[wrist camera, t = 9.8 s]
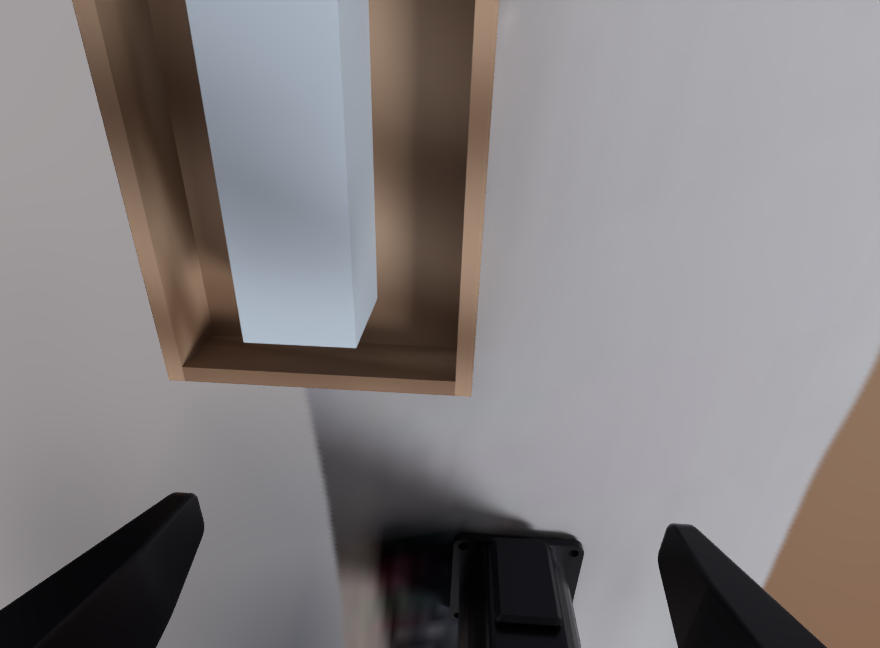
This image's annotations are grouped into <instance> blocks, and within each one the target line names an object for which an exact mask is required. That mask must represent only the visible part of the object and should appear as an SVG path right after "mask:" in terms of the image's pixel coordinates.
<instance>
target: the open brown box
mask: <svg viewBox="0 0 880 648" xmlns="http://www.w3.org/2000/svg"><path fill="white" fill-rule="evenodd" d="M72 2H73V6H74V10H75V14H76V17H77V21H78V25H79V29H80V33H81V37H82V41H83V45H84V49H85V53H86V57H87V60H88V64H89V68H90V72H91V76H92V80H93V84H94V87H95V92H96V96H97V99H98V103H99V107H100V111H101V115H102V119H103V123H104V127H105V131H106V135H107V139H108V142H109V146H110V150H111V154H112V158H113V162H114V166H115V170H116V174H117V177H118V182H119V186H120V189H121V193H122V197H123V201H124V205H125V209H126V213H127V217H128V221H129V225H130V228H131V232H132V236H133V240H134V244H135V248H136V252H137V255H138V259H139V264H140V268H141V271H142V275H143V279H144V283H145V287H146V291H147V295H148V299H149V303H150V307H151V311H152V314H153V318H154V322H155V326H156V330H157V334H158V338H159V342H160V346H161V350H162V353H163V357H164V361H165V365H166V369H167V373H168V377H169V380H178V381H197V382H214V383H233V384H251V385H269V386H288V387H306V388H324V389H342V390H360V391H379V392H397V393H415V394H433V395H452V396H470V397H471V393H472V378H473V364H474V350H475V336H476V322H477V307H478V293H479V279H480V265H481V251H482V237H483V222H484V208H485V194H486V180H487V166H488V151H489V137H490V123H491V109H492V95H493V81H494V66H495V52H496V38H497V24H498V10H499V0H369V32H370V65H371V99H372V132H373V166H374V200H375V233H376V267H377V300H376V303H375V305H374V308H373V310H372V312H371V315H370V317H369V319H368V322H367V324H366V326H365V329H364V331H363V333H362V336H361V338H360V341H359V343H358V345H357V348H342V347H322V346H303V345H283V344H264V343H244V342H243V336H242V330H241V325H240V319H239V313H238V307H237V301H236V295H235V289H234V283H233V277H232V272H231V266H230V260H229V254H228V248H227V242H226V236H225V230H224V224H223V219H222V213H221V207H220V201H219V195H218V189H217V183H216V177H215V171H214V166H213V160H212V154H211V148H210V142H209V136H208V130H207V124H206V118H205V113H204V107H203V101H202V95H201V89H200V83H199V77H198V71H197V65H196V60H195V54H194V48H193V42H192V36H191V30H190V24H189V18H188V12H187V6H186V1H185V0H72Z"/></svg>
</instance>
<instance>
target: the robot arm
mask: <svg viewBox="0 0 880 648" xmlns="http://www.w3.org/2000/svg"><path fill="white" fill-rule="evenodd" d="M203 532H204V521H203V517H202V513H201V509H200V505H199V501H198V498H197V496H196V495H195V494H192V493H179V492H176V493H172V494H170V495H168V496H167V497H165V498H164V499H163V500H161V501H160V502H158V503H157V504H155V505H154V506H152V507H151V508H149V509H148V510H146V511H145V512H143V513H142V514H141V515H139V516H138V517H136V518H135V519H133V520H132V521H130V522H129V523H128V524H126V525H124V526H123V527H122V528H120V529H119V530H117V531H116V532H114V533H113V534H111V535H110V536H108V537H107V538H105V539H104V540H103V541H101V542H100V543H98V544H97V545H95V546H94V547H92V548H91V549H89V550H88V551H86V552H85V553H83V554H82V555H81V556H79V557H78V558H76V559H75V560H73V561H72V562H70V563H69V564H67V565H66V566H64V567H63V568H61V569H60V570H59V571H57V572H56V573H54V574H53V575H51V576H50V577H49V578H47V579H45V580H44V581H42V582H41V583H39V584H38V585H37V586H35V587H34V588H32V589H31V590H29V591H28V592H26V593H25V594H23V595H22V596H20V597H19V598H18V599H16V600H15V601H13V602H12V603H10V604H9V605H7V606H6V607H4V608H3V609H1V610H0V648H156V646H157V644H158V642H159V640H160V638H161V636H162V634H163V632H164V630H165V628H166V626H167V624H168V622H169V620H170V617H171V615H172V613H173V611H174V608H175V606H176V603H177V601H178V598H179V596H180V593H181V590H182V588H183V585H184V583H185V579H186V578H187V575H188V572H189V570H190V567H191V565H192V562H193V560H194V557H195V554H196V552H197V549H198V547H199V544H200V541H201V539H202V536H203ZM583 556H584V551H583V547H582V544H581V543H580V542H579V541H577V540H568V539H553V538H537V537H521V536H506V535H490V534H475V533H459V534H457V535H456V536H455V537H454V544H453V560H452V577H451V593H450V611H449V615H450V618H451V619H453V620H455V621H458V648H581V644H580V639H579V634H578V629H577V624H576V619H575V614H574V609H573V604H572V603H573V598H574V594H575V590H576V586H577V581H578V577H579V573H580V569H581V564H582V560H583ZM658 565H659V569H660V574H661V578H662V582H663V586H664V591H665V595H666V599H667V603H668V607H669V612H670V616H671V620H672V624H673V628H674V633H675V637H676V641H677V645H678V648H827V647H826V646H825V645H824V644H823V643H821V642H820V641H819V640H818V639H817V638H816V637H815V636H814V635H813V634H812V633H811V632H809V631H808V630H807V629H806V628H805V627H804V626H803V625H802V624H801V623H799V622H798V621H797V620H796V619H795V618H794V617H793V616H792V615H791V614H790V613H789V612H788V611H786V610H785V609H784V608H783V607H782V606H781V605H780V604H779V603H778V602H777V601H776V600H774V599H773V598H772V597H771V596H770V595H769V594H768V593H767V592H766V591H765V590H764V589H762V588H761V587H760V586H759V585H758V584H757V583H756V582H755V581H754V580H753V579H752V578H750V577H749V576H748V575H747V574H746V573H745V572H744V571H743V570H742V569H741V568H739V567H738V566H737V565H736V564H735V563H734V562H733V561H732V560H731V559H730V558H729V557H727V556H726V555H725V554H724V553H723V552H722V551H721V550H720V549H719V548H718V547H717V546H715V545H714V544H713V543H712V542H711V541H710V540H709V539H708V538H707V537H706V536H705V535H703V534H702V533H701V532H700V531H699V530H698V529H697V528H696V527H694V526H692V525H689V524H674V523H673V524H670V525H669V526H668V527H667V529H666V532H665V535H664V538H663V541H662V544H661V547H660V550H659V553H658Z"/></svg>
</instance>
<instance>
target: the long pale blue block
mask: <svg viewBox="0 0 880 648" xmlns="http://www.w3.org/2000/svg"><path fill="white" fill-rule="evenodd" d="M185 1H186V6H187V12H188V18H189V24H190V30H191V36H192V42H193V48H194V54H195V60H196V65H197V71H198V77H199V83H200V89H201V95H202V101H203V107H204V113H205V118H206V124H207V130H208V136H209V142H210V148H211V154H212V160H213V166H214V171H215V177H216V183H217V189H218V195H219V201H220V207H221V213H222V219H223V224H224V230H225V236H226V242H227V248H228V254H229V260H230V266H231V272H232V277H233V283H234V289H235V295H236V301H237V307H238V313H239V319H240V325H241V330H242V336H243V342H244V343H264V344H283V345H303V346H322V347H342V348H357V345H358V343H359V341H360V338H361V336H362V333H363V331H364V329H365V326H366V324H367V322H368V319H369V317H370V315H371V312H372V310H373V308H374V305H375V303H376V300H377V267H376V233H375V200H374V166H373V132H372V99H371V65H370V32H369V0H185Z"/></svg>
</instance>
